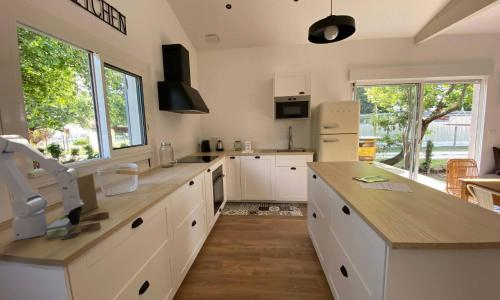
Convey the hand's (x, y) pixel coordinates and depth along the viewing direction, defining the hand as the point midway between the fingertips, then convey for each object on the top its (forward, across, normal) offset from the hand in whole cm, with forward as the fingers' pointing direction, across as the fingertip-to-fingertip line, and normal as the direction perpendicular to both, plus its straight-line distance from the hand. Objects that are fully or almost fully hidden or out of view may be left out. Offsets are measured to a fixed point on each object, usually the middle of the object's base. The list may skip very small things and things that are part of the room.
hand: (75, 224), depth 91 cm
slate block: (+2, 0, +5) cm, 5 cm away
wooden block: (+2, +24, +6) cm, 25 cm away
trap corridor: (+2, 0, -2) cm, 3 cm away
